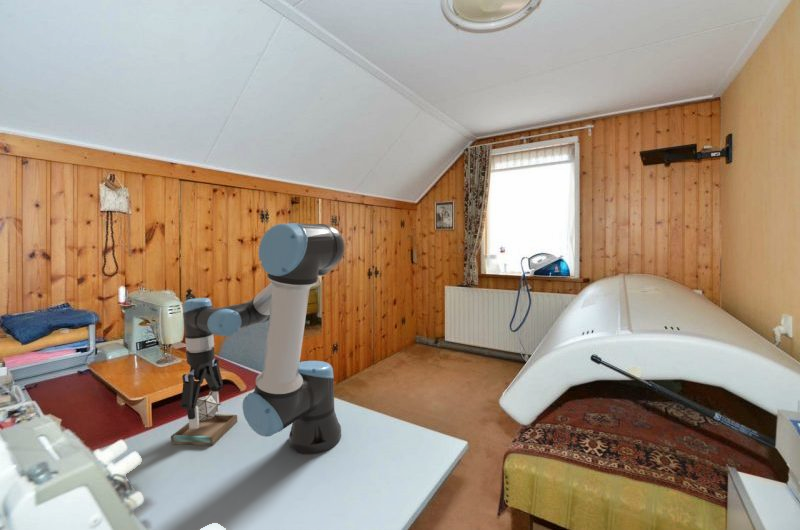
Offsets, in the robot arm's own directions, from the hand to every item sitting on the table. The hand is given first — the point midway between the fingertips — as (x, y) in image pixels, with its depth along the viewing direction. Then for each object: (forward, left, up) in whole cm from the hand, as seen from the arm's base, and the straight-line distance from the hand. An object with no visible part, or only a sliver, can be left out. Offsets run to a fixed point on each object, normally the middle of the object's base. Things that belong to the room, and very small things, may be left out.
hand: (205, 418), depth 109 cm
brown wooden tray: (0, 0, -4) cm, 4 cm away
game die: (0, 0, -1) cm, 1 cm away
